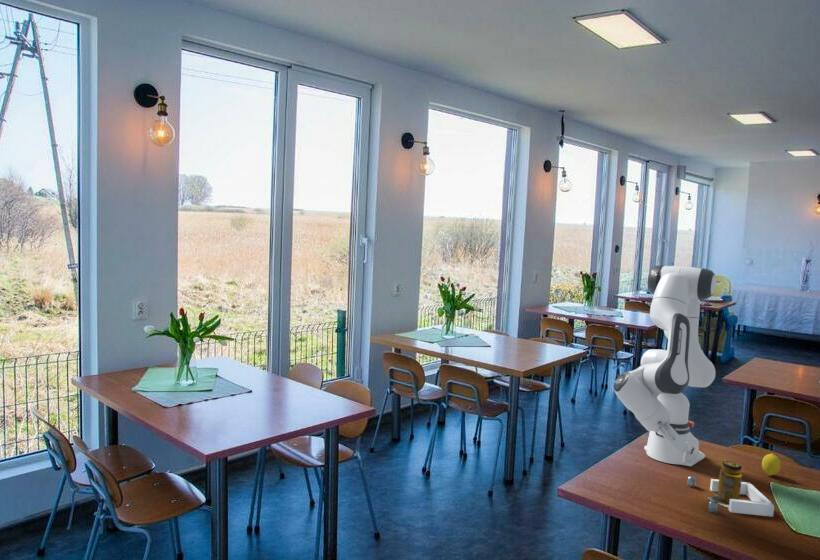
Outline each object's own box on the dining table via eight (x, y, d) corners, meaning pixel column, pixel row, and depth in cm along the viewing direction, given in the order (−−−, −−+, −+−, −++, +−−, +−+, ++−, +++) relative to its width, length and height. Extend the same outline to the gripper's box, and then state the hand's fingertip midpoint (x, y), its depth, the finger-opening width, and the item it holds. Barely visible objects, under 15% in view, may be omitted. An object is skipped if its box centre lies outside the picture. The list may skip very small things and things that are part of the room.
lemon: (774, 473, 213) (776, 451, 212) (782, 479, 207) (784, 457, 207) (757, 471, 213) (760, 449, 213) (765, 478, 208) (768, 455, 207)
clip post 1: (689, 483, 199) (690, 475, 199) (696, 486, 197) (697, 477, 197) (685, 485, 197) (686, 476, 197) (692, 488, 195) (693, 479, 195)
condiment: (744, 503, 187) (749, 465, 186) (730, 509, 182) (734, 470, 181) (721, 493, 193) (725, 457, 192) (706, 499, 188) (711, 462, 187)
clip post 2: (710, 509, 181) (712, 499, 181) (718, 512, 179) (719, 502, 179) (706, 510, 180) (707, 501, 179) (714, 514, 178) (715, 504, 177)
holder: (730, 512, 180) (731, 501, 179) (709, 489, 196) (711, 478, 195) (773, 516, 179) (774, 505, 178) (748, 493, 194) (749, 482, 194)
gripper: (673, 422, 177) (705, 456, 178) (653, 400, 198) (681, 431, 198) (656, 435, 178) (687, 470, 178) (638, 413, 199) (666, 443, 199)
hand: (684, 449), depth 188 cm, fingers closed
